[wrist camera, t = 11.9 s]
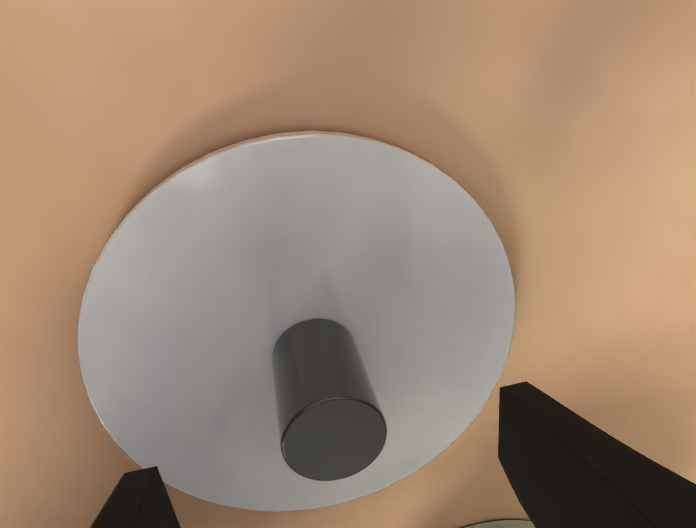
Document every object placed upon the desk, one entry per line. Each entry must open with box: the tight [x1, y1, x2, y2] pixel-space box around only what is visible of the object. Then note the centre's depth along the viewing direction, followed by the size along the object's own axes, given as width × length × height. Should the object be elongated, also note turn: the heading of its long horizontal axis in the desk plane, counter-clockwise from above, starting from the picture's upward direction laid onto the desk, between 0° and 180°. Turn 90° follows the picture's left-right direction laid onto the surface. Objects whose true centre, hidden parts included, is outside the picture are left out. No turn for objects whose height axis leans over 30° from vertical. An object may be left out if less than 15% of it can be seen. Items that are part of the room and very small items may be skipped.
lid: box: [77, 131, 515, 512], centre depth 13 cm, size 12×12×4 cm
